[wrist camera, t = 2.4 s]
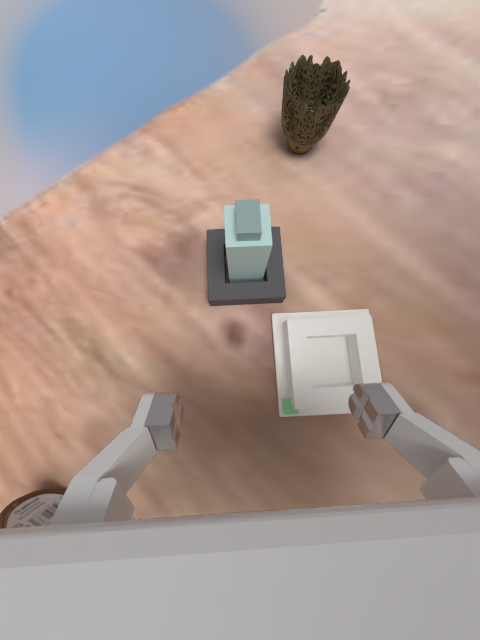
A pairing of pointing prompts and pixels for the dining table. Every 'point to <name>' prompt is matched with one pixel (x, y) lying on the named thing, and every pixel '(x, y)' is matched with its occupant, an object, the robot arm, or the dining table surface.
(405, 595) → the robot arm
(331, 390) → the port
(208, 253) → the holster
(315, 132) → the cup
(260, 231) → the plug
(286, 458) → the dining table surface
